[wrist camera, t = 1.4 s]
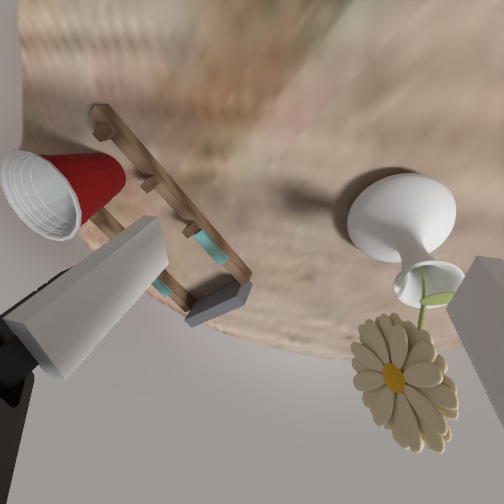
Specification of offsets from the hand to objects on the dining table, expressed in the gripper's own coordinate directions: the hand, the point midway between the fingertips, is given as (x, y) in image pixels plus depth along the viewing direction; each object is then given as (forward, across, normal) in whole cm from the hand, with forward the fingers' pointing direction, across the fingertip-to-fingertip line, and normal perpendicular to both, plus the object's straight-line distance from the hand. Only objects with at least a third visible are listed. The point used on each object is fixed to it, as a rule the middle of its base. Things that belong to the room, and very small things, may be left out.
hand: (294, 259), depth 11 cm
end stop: (+23, -14, -26) cm, 37 cm away
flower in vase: (+24, +10, -8) cm, 27 cm away
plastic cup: (+24, -31, -5) cm, 39 cm away
